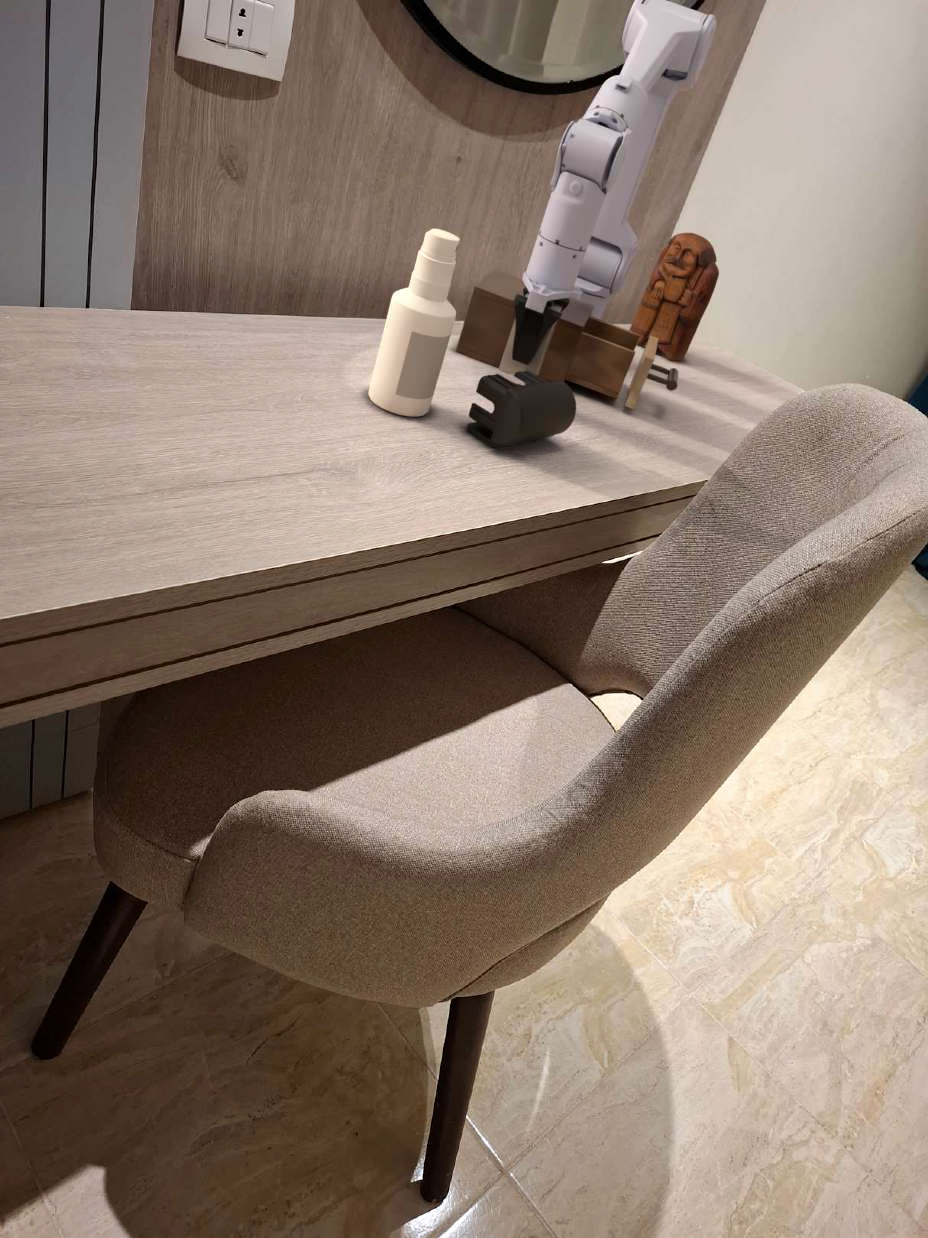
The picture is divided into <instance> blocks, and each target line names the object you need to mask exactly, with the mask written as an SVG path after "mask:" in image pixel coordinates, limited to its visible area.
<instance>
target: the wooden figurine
mask: <svg viewBox="0 0 928 1238" xmlns="http://www.w3.org/2000/svg"><path fill="white" fill-rule="evenodd" d="M659 254H660V255H659V257H658V259H657V261H656V262H655V265H654V268H653V270H652V273H651V274H650V278H649V280H648V284H647V286H646V288H645V291H644V293H643V296H642V298H641V301H640V303H639V305H638V308H637V310H636V313H635V315H634V317H633V320H632V323H631V324H630V327H629V329H628V330H629V331H632V332H635V333H637V334H640V337H639V340H638V342H637V345H636V346H642V347H643V348H645V347H646V345H647V342H648V340H649V337H650V336H653V337H656V338H658V343H657V348H656V353H655V354H658V355H663V356H664V357H666V358H667V359H668V360H670V361H681V360H684V358H685V357H686V354H687V352H688V351H689V348H690V346H691V344H692V341H693V339H694V337H695V335H696V332H697V330H698V328H699V326H700V323H701V321H702V318H703V316H704V315H705V312H706V311H707V308H708V306H709V304H710V301H711V299H712V297H713V295H714V292H715V289H716V286H717V283H718V279H719V276H720V270H719V267H718V265H717V261H718V260H717V255H716V252H715V248H714V246H713V245H712V243H711V242H710V240H708V239H707V238H705V236H702V235H700V234H697V233H694V232H681V233H677V234H675V235H673V236H672V237H671V238H670V239H669V240H668V242H667V245H666V246H665V247H664V248H663V249H662V251H661V252H660V253H659Z"/></svg>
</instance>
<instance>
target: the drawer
mask: <svg viewBox="0 0 928 1238" xmlns="http://www.w3.org/2000/svg"><path fill="white" fill-rule="evenodd" d="M629 330H630V329H627V328H624V327H621V326H619V325H615V324H613V323H610V322H608V321H605V320H602V319H601V320H600V319H597V318H594V317H592V316H590V317H589V319H588V321H587V323H586V325H585V327H584V329H583V331H582V334H581V336H580V339H579V342H578V345H577V347H576V350H575V353H574V355H573V358H572V361H571V364H570V366H569V369H568V372H567V374H566V377H565V381H568V382H570V383H574V384H576V385H579V386H581V387H584V388H587V389H589V390H591V391H594V392H597V393H600V394H602V395H606V396H608V397H610V398H614V399H618V397H619V394H620V393H621V392H620V391H621V389H622V387H623V385H624V382H625V380H626V377H627V376H628V372H629V369H630V367H631V364H632V362H633V360H634V358H635V355H636V351H635V350H636V347H637V346H638V345H637V342H638V340H639V337H640V334H637V333H635V332H632V331H629ZM657 343H658V338H656V337H653V336H650V337H649V340H648V342H647V345H646V347H644V349H643V351H642V352H643V353H642V354H641V357H640V359H639V362H638V364H637V366H636V369H635V372H634V374H633V376H632V379H631V381H630V385H629V389H628V393H627V396H626V400H625V404H624V407H627V408H629V409H632V410H634V409H635V407H636V404H637V402H638V399H639V397H640V395H641V392H642V390H643V388H644V385H645V383H646V382H647V380H651V381H653V382H656V383H659V384H661V385H662V386H663V385H664V386H665V387H666V389H667V390H668V391H670V392H672V391H673V392H674V391H675V390H676V389H677V388H678V381H679V370H678V369H677V368H675V367H672V368H670V369H668V368H665V367H663V366H660V365H658V364H655V363H654V361H655V359H656V354H657V353H656V348H657ZM651 370H653V371H655V372H658V373H661V374H664V375H665V376H667V377H666V378H664V377H661V376H658V375H655V374H653V373H650V371H651Z"/></svg>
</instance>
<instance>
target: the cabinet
mask: <svg viewBox="0 0 928 1238" xmlns="http://www.w3.org/2000/svg"><path fill="white" fill-rule="evenodd" d="M525 287H526V286H525V284H524V282H523V280H522V278H520V277H518V276H515V275H512V274H509V273H506V272H504V271H501V270H499V269H496V268H494V269H493V270H492V271H491V272H489V273H488V274H487V275H486V276H485V277H484V278H483V279H481V280H480V281H479V282H478V283H477V284H476V285H474V288H473V291H472V293H471V294H472V295H471V298H470V302H469V305H468V309H467V312H466V315H465V317H464V318H465V319H464V322H463V326H462V329H461V332H460V335H459V340H458V343H457V346H456V349H455V352H456V353H459V354H462V355H464V356H468V357H469V358H472V359H475V360H478V361H480V362H483V363H486V364H489V365H491V366H494V367H495V368H499V367H500V364H501V361H502V357H503V354H504V351H505V348H506V345H507V342H508V339H509V336H510V333H511V330H512V327H513V324H514V320H515V310H514V298H515V296H516V295H517V294H519V295H522V296H524V294H523V289H524V288H525ZM568 299H569V300H570V302H569V305H568V306H567V307H566V308H565V309H564V310H563V311H562V312H561V313H562V315H561V317H560V318H559V319H558V321H557V324H556V327H555V329H554V332H553V335H552V338H551V341H550V344H549V346H548V349H547V352H546V355H545V358H544V361H543V363H542V366H541V369H540V372H539V374H538V376H539V377H540V378H542V379H544V380H545V381H547V382H549V383H551V382H558V381H563V382H565V383H566V380H565V377H566V374H567V372H568V369H569V366H570V364H571V361H572V358H573V355H574V353H575V350H576V347H577V345H578V342H579V339H580V336H581V334H582V331H583V329H584V327H585V325H586V323H587V321H588V319H589V317H590V316H591V314H592V312H593V309H594V306H593V305H590V304H587V303H585V302H582V301H579V300H577V299H574V298H571V297H570V298H568Z"/></svg>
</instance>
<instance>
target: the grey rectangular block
mask: <svg viewBox="0 0 928 1238" xmlns="http://www.w3.org/2000/svg"><path fill="white" fill-rule="evenodd" d="M525 297H527V298H528V297H529V294H528V293H527V294H526V295H525ZM547 305H549V309H552V310H554V311H557V312H561V309H562V306H560V305H558V304H555V303H554V301H551V300H550V301H548V304H547ZM557 321H558V320H557ZM557 321H556V322H555V323H554V324H553V325H552V326H551V328H550V329H549V330H548V331H547V333H546V335H545V336H544V338H543V340H542V342H541V344H540V346H539V347H538V349H537V351H536V353H535V355H534V357H533V358H532V360H531V362H530V363H529V364H528V365H526V364H523V363H520V362H518V361H515V360H513V359H512V350H513V343H514V336H515V325H516V319H515V320H514V324H513V327H512V330H511V333H510V336H509V339H508V342H507V345H506V348H505V351H504V354H503V357H502V361H501V364H500V367H498V370H500V371H501V372H505V373H507V374H510V375H513V376H514V375H515V372H520V371H521V372H523V371H527V370H528V371H530V372H532V373H534V374H535V375H537V376H538V374H539V372H540V369H541V366H542V363H543V361H544V358H545V355H546V352H547V349H548V346H549V344H550V341H551V338H552V335H553V332H554V329H555V327H556V324H557Z"/></svg>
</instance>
